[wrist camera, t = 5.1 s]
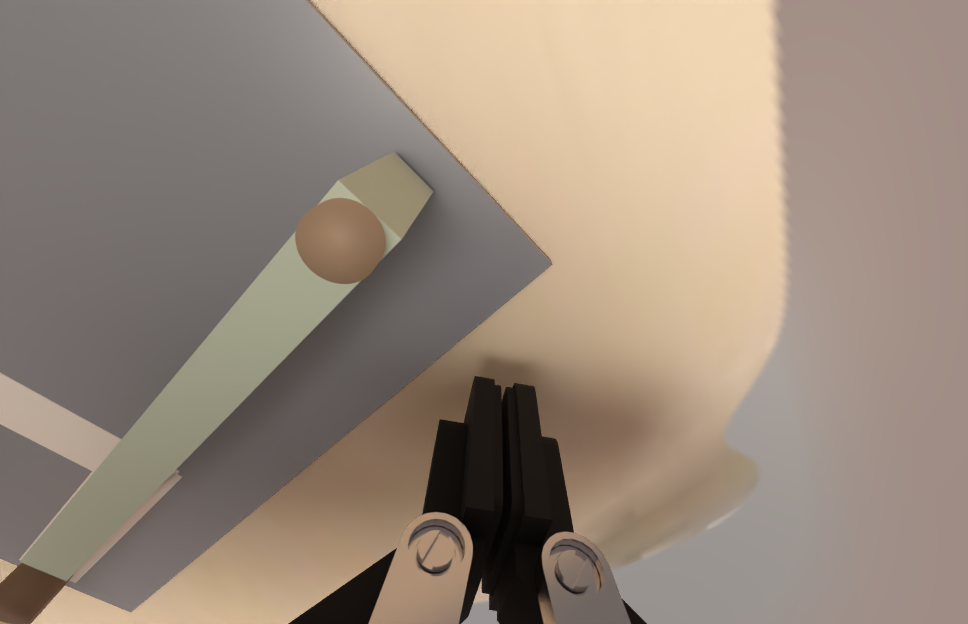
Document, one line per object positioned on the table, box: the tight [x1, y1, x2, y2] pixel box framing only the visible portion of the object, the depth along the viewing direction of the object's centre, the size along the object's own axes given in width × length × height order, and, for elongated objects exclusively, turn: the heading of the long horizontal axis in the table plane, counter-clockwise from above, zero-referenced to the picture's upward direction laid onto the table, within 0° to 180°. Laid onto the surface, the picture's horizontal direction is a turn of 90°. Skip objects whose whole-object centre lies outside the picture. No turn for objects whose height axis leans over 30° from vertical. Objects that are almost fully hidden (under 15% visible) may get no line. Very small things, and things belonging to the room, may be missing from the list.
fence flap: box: [20, 152, 434, 581], centre depth 10 cm, size 14×1×4 cm, turn 134°
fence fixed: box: [0, 563, 73, 624], centre depth 14 cm, size 10×2×5 cm, turn 134°
